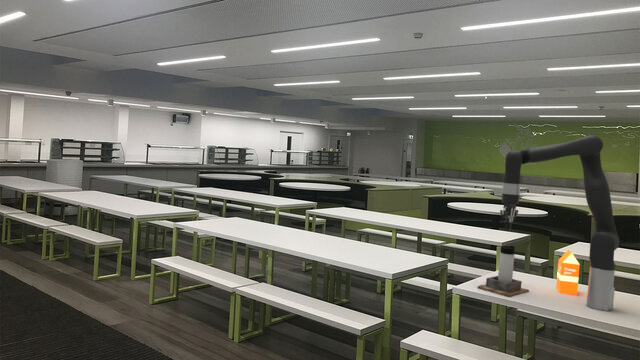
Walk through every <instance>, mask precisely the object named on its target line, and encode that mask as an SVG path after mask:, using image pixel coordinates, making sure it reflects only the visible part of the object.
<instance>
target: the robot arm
mask: <svg viewBox="0 0 640 360" xmlns="http://www.w3.org/2000/svg"><path fill="white" fill-rule="evenodd" d="M603 147H604V142H603V140H602V139H601V138H600V137H599V136H597V135H593V134H590V135H585V136H583V137H581V138H578V139H574V140H570V141H567V142H562V143H561V142H560V143H554V144H548V145H541V146H534V147H530V148H527V149H520V150H514V149H513V150H510V151H508V152H507V153H506V155H505V165H504V167H505V171H504V177H503V185H502V193H501V203H502V204H503V206H502V207H503V209H500V211H499V213H500V216H501V219H502V220H503V222H505V223H504V230H505V231H511V230H512V223H513V222H514V221H515V220H516V218H517V215H518V214H519V209H517V205H518V204H519V203H520V193H521V170H522V169H521V168H522V165H526V164H529V163H530V164H533V163H534V164H535V163H540V162H547V161H552V160H556V159H560V158H561V159H562V158H564V157H570V156H579V158H580V163H581V166H582V172H583V186H584V194H585V198H586V203H587V206H588V208H589V211H590V213H591V214H592V216H593V220H594V223H595V233H594V234H593V235H592V236H591V238H590V243H589V255H588V256H589V263H590V264H589V274H588V284H587V295H586V306H587V307H589V308H592V309H595V310H599V311H606V312H608V311H610V310H611V311H612V310H613V309H614V302H615V301H614V300H615V291H616V288H615V286H614V283H615V282H614V281H615V272H616V263H615V259H614V258H615V251H616V250H618V248H619V246H620V238H619V234H618V230H617V228H616V224H615V220H614V215H613V212H614V211H613V207H612V206H613V205H612V199H611V198H612V197H611V193H610V187H609V183H608V182H609V181H608V180H607V178H606V174H605V172H604V170H603V167H602V160H601V151H602V149H604V148H603Z"/></svg>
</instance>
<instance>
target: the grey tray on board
mask: <svg viewBox="0 0 640 360" xmlns="http://www.w3.org/2000/svg"><path fill="white" fill-rule="evenodd" d="M522 282H523V281H522V280H519V279H514V278H512V282H511V283H505V282H502V281H498V275H495V276H491V277H486V282H485V283H484V284H481V285H477V289H480V290H482V291H487V292H490V293H493V294H495V295H496V294H497V295H500V296H504V297H506V298H512V297H516V296H519V295H523V294H527V293H529V292H530V290H529V289H527V288H525V287H524V288H523V287H522Z"/></svg>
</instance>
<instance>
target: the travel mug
mask: <svg viewBox="0 0 640 360" xmlns="http://www.w3.org/2000/svg"><path fill="white" fill-rule="evenodd" d="M515 250H516V246H515V245H502V246H501V247H500V253H499V261H498V262H499V263H498V273H497V274H498V275H497V276H498V281H502V282H505V283H511V282H512V279H513V275H514V265H515Z"/></svg>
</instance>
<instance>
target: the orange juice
mask: <svg viewBox="0 0 640 360" xmlns="http://www.w3.org/2000/svg"><path fill="white" fill-rule="evenodd" d="M557 263H558V265H557V273H556V285H555V289H556V290H557V292H558V293H559V294H564V295H565V294H566V295H572V296H573V295H574V296H577V295H578V287H579V276H580V265H581V264H580V263H579V261H578V260H577V258H576V257H575V255H574V253H573V252H572V251H571V250H570V249H567V250H566V251H565V252H564V253H563V255H562V256H561V257H560V258H558V262H557Z"/></svg>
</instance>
